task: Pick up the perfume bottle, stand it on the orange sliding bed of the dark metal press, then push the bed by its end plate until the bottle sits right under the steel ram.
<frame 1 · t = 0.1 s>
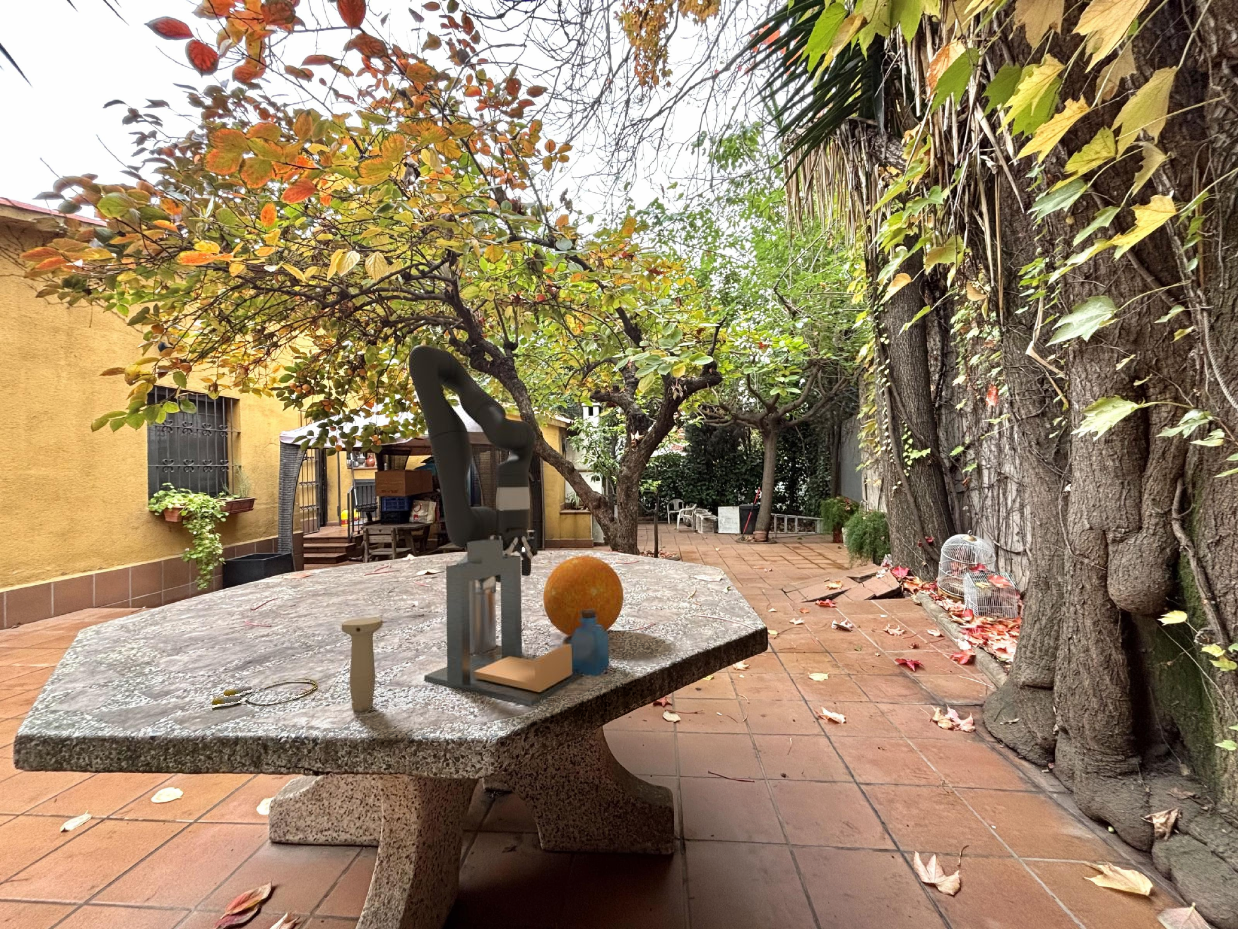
hand: (513, 578, 120), 17 cm above the table, tool pointing down, fingers open, 8 cm apart
perfume bottle: (589, 670, 109), on the table
press bed carriage: (523, 661, 103), point 4 cm above the table, slide at 9.0 cm
jump rope: (269, 697, 100), on the table
decorative sphere: (584, 637, 133), on the table
press frame: (487, 674, 108), on the table
handle: (362, 709, 92), on the table
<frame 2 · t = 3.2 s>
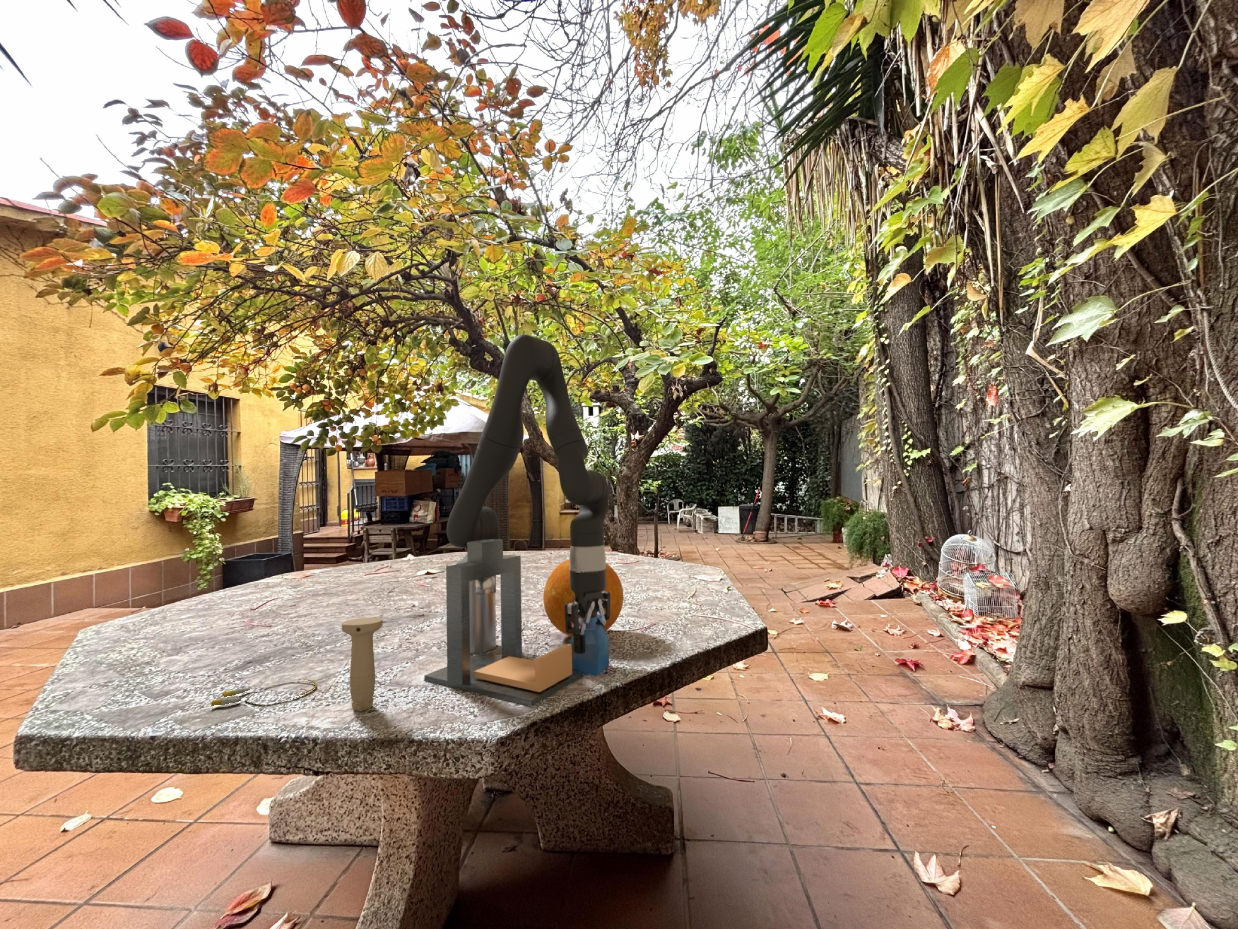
hand: (589, 647, 110), 4 cm above the table, tool pointing down, fingers closed on perfume bottle, 7 cm apart
perfume bottle: (589, 670, 109), on the table, touching gripper
everything else where it was.
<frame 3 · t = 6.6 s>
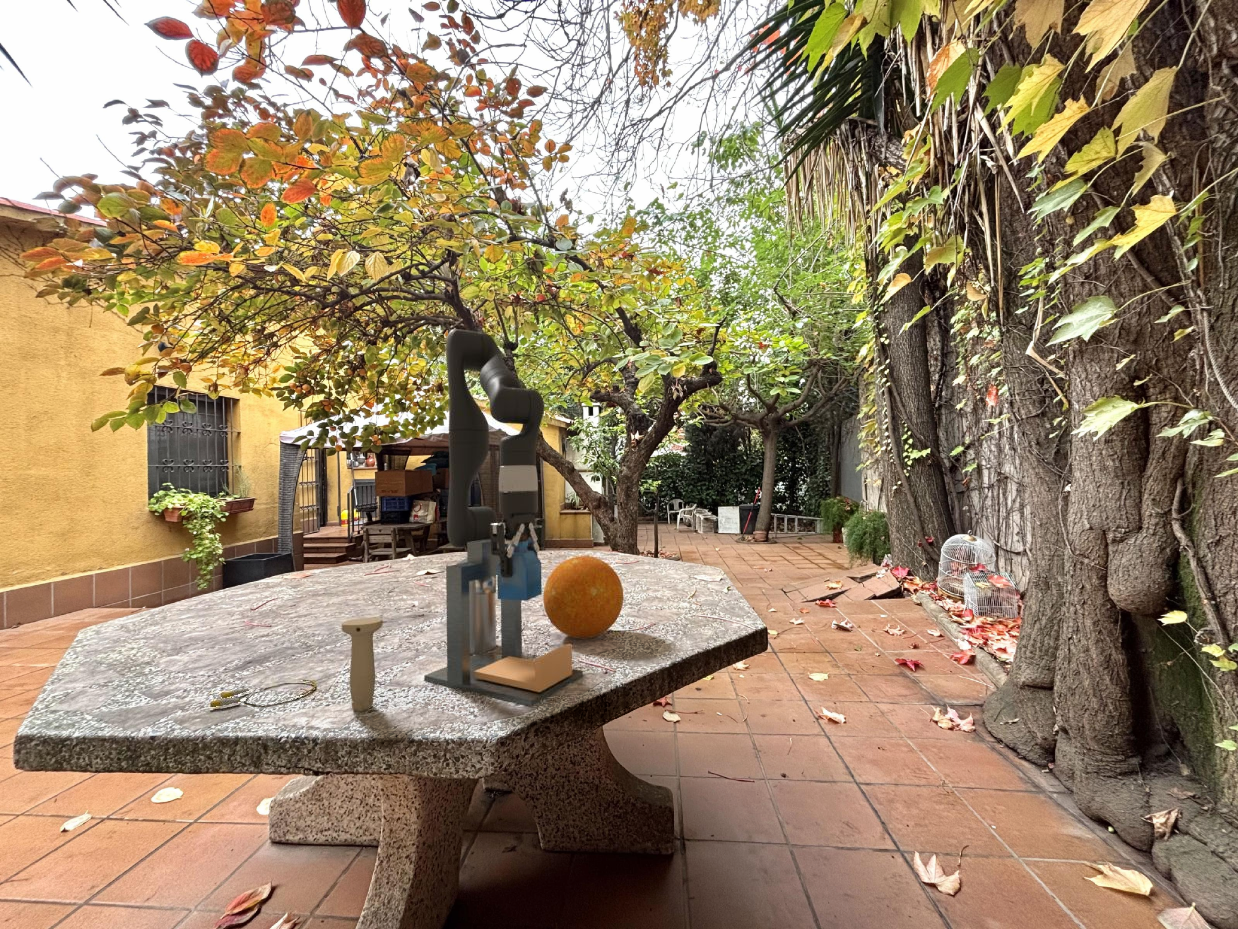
hand: (519, 573, 104), 21 cm above the table, tool pointing down, fingers closed on perfume bottle, 6 cm apart
perfume bottle: (520, 597, 104), point 16 cm above the table, touching gripper
everything else where it was.
when the fingers open (8 cm above the table, at t = 9.4 s): perfume bottle drops 1 cm, resting on press bed carriage.
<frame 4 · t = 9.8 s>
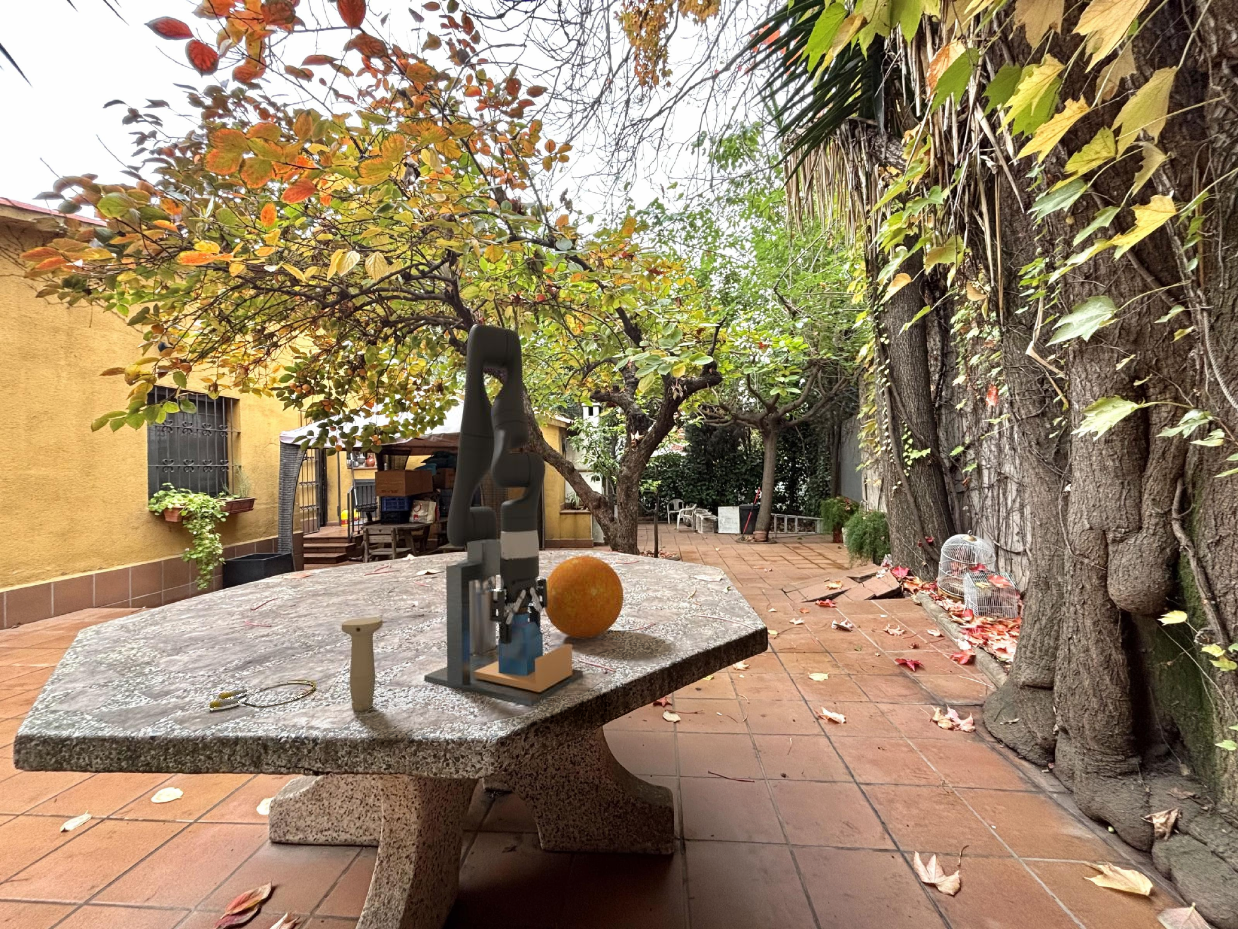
hand: (520, 637, 103), 9 cm above the table, tool pointing down, fingers open, 8 cm apart
perfume bottle: (521, 670, 103), point 2 cm above the table, touching press bed carriage
press bed carriage: (523, 661, 103), point 4 cm above the table, slide at 9.0 cm, touching perfume bottle
everything else where it was.
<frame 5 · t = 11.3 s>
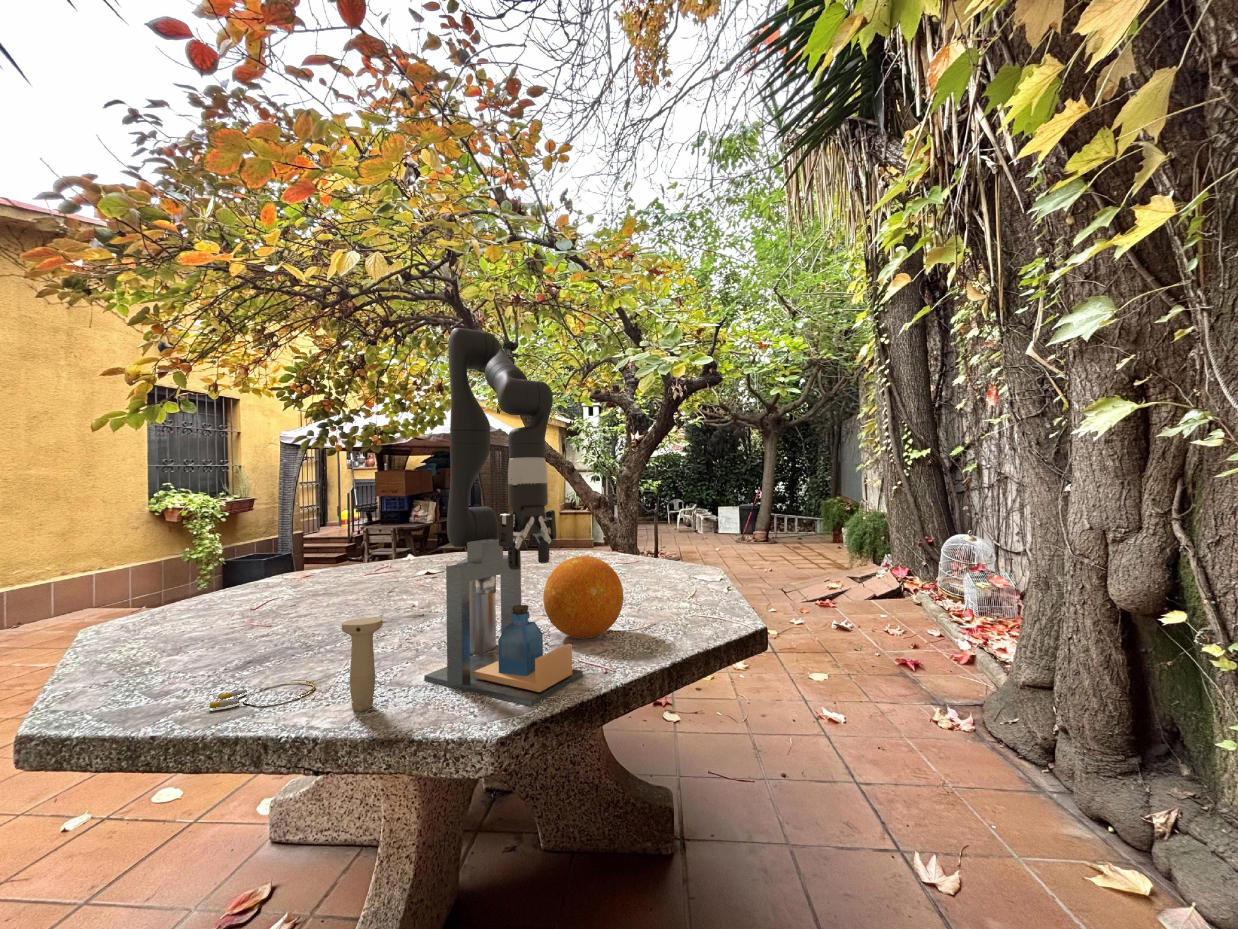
hand: (529, 566, 102), 23 cm above the table, tool pointing down, fingers open, 8 cm apart
nothing on the table moved.
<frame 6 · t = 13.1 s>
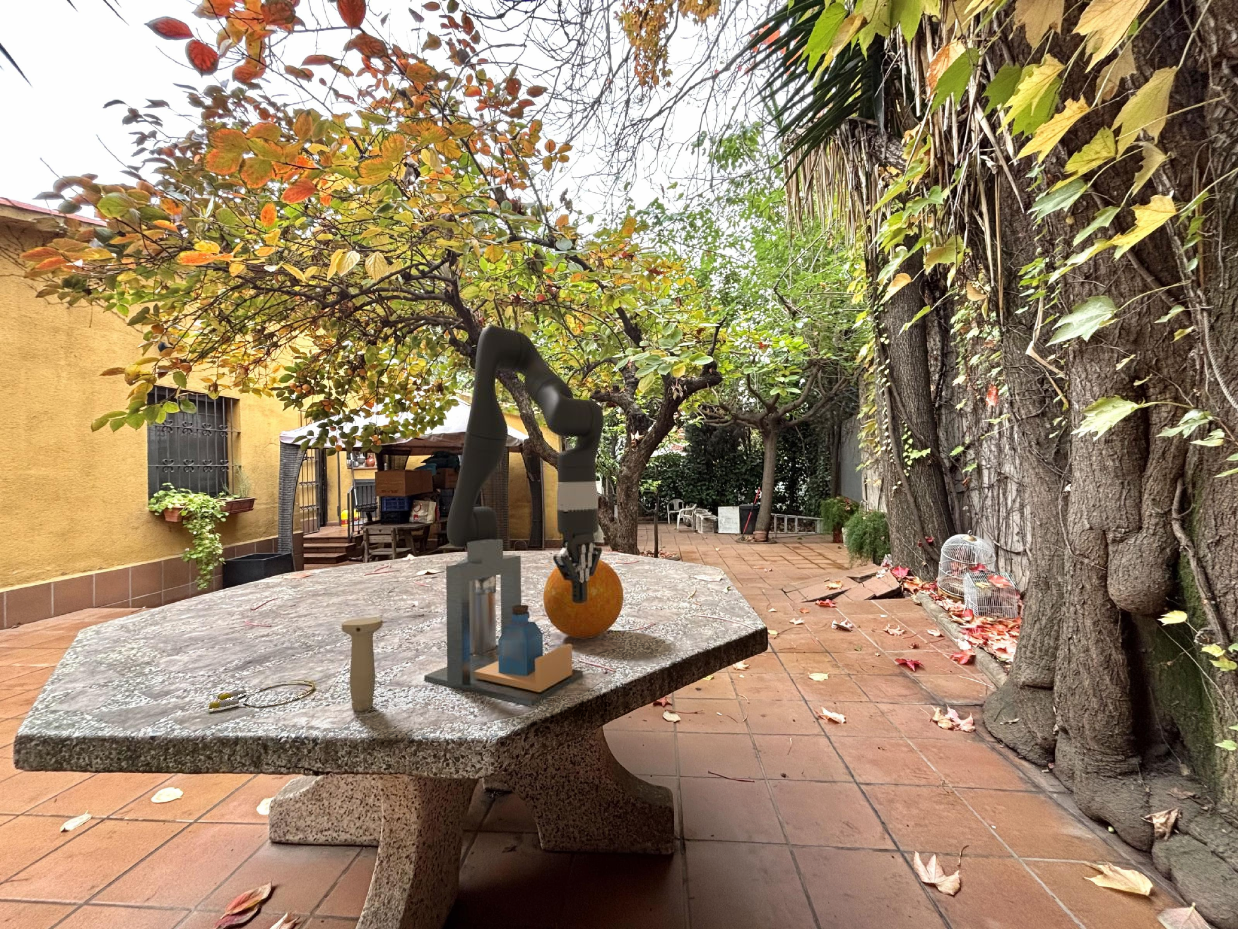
hand: (579, 602, 97), 17 cm above the table, tool pointing down, fingers closed
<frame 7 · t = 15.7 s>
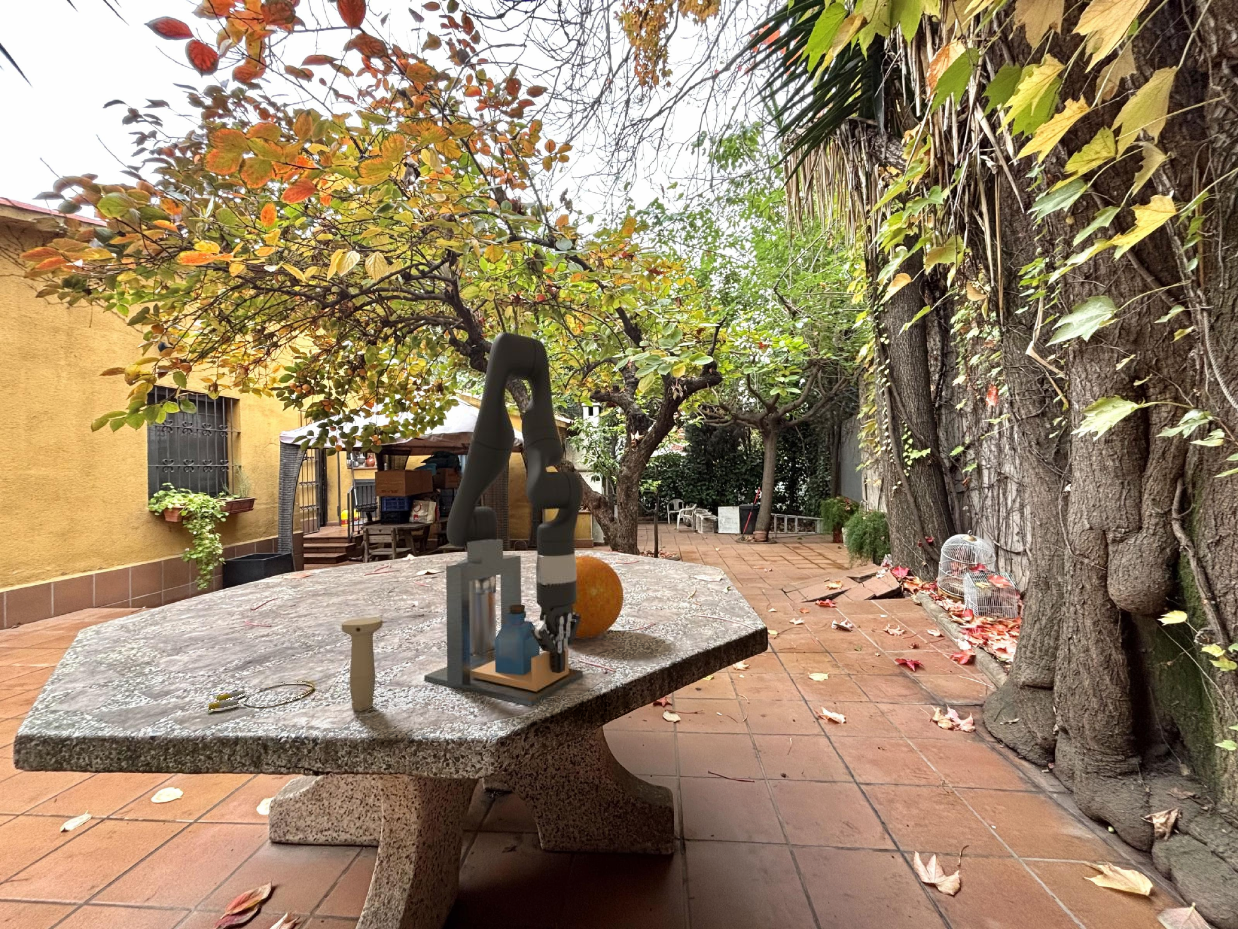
hand: (558, 671, 99), 3 cm above the table, tool pointing down, fingers closed
press bed carriage: (519, 660, 103), point 4 cm above the table, slide at 8.2 cm, touching gripper, perfume bottle
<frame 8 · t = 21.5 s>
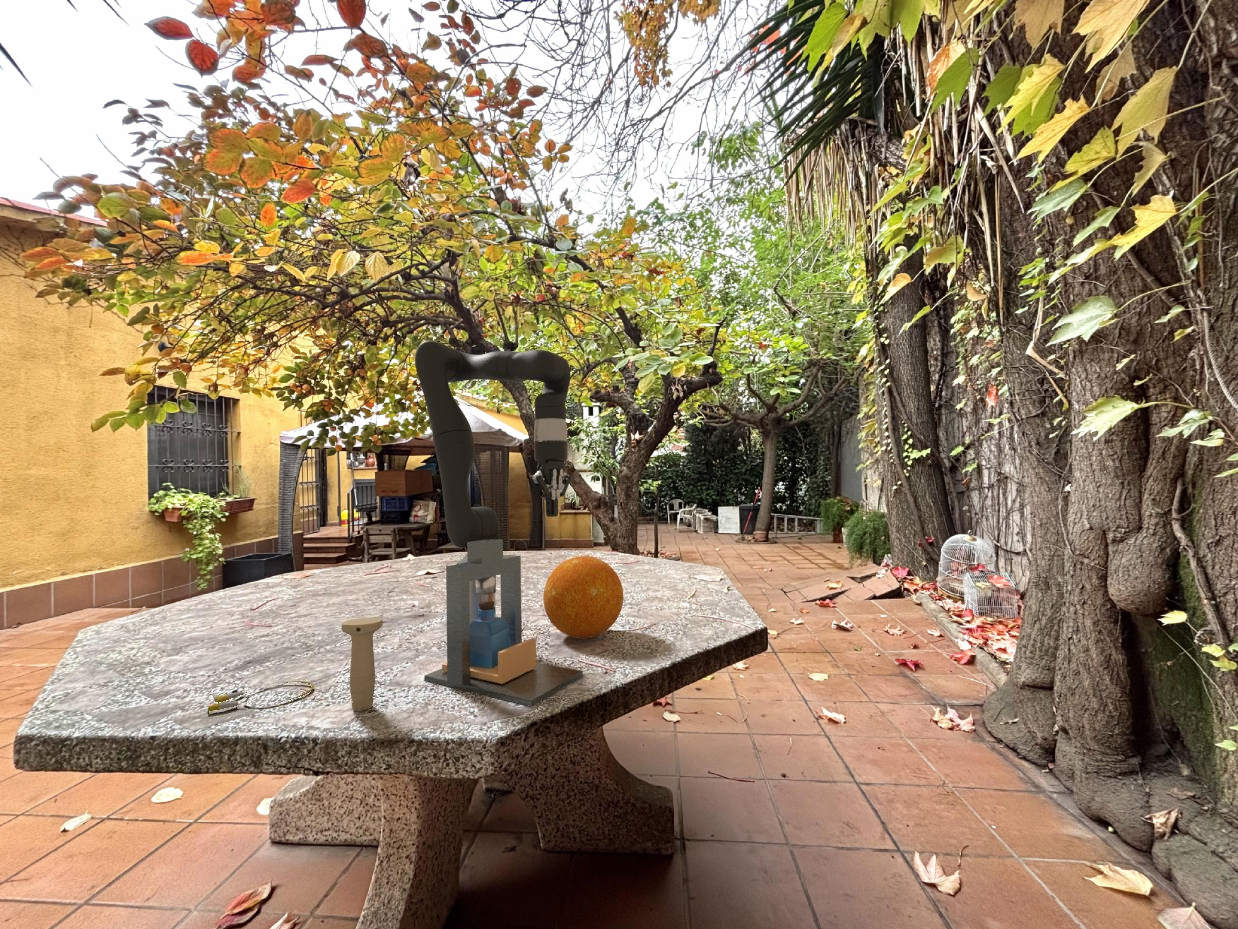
hand: (552, 516, 120), 31 cm above the table, tool pointing down, fingers closed
perfume bottle: (487, 663, 108), point 2 cm above the table, touching press bed carriage
press bed carriage: (489, 654, 107), point 4 cm above the table, slide at 0.2 cm, touching perfume bottle
at the end: press bed carriage slide at 0.2 cm; perfume bottle inside the target area on the press frame (0.1 cm from its centre), point 2.3 cm above the press frame's base; perfume bottle tilted 0° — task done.
